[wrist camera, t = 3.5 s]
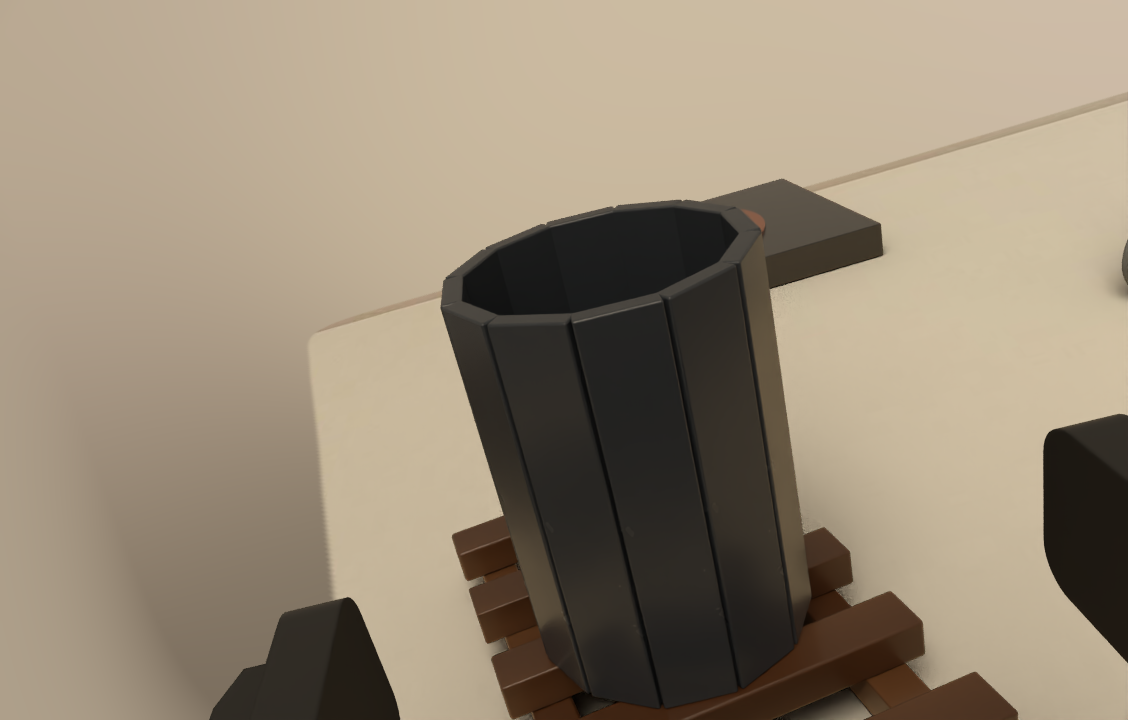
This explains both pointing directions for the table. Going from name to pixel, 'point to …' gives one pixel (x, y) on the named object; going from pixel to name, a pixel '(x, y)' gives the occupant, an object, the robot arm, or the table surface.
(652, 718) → the rack
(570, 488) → the pot
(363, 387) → the table surface
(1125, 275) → the toy car
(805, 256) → the stove
